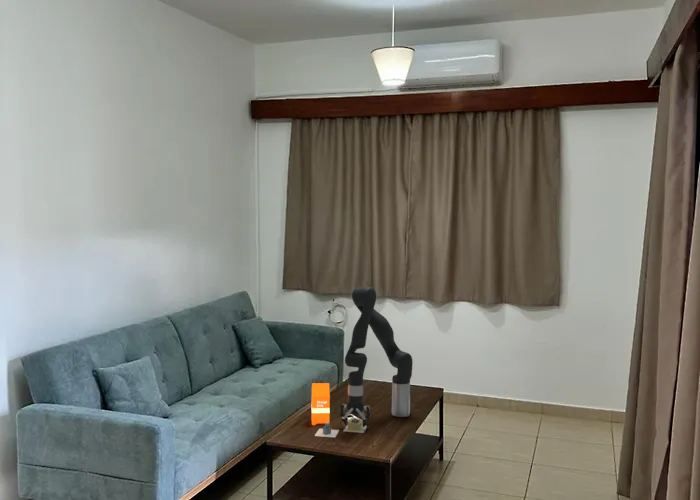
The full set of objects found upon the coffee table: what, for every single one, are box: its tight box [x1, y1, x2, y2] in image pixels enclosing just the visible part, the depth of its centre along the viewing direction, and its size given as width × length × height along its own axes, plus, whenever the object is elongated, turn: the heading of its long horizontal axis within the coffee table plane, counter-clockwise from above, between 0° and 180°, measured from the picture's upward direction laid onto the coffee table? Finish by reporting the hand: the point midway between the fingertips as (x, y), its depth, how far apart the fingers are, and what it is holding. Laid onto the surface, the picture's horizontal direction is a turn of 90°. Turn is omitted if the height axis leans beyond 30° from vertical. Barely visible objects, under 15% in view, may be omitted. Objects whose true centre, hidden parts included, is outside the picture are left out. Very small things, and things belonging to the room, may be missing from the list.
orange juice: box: [310, 382, 331, 426], centre depth 331 cm, size 8×9×20 cm
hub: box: [314, 422, 340, 438], centre depth 315 cm, size 10×10×6 cm
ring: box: [348, 418, 363, 431], centre depth 321 cm, size 6×6×4 cm
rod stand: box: [343, 418, 368, 434], centre depth 321 cm, size 10×10×5 cm
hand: (355, 426), depth 321 cm, fingers open, 8 cm apart
